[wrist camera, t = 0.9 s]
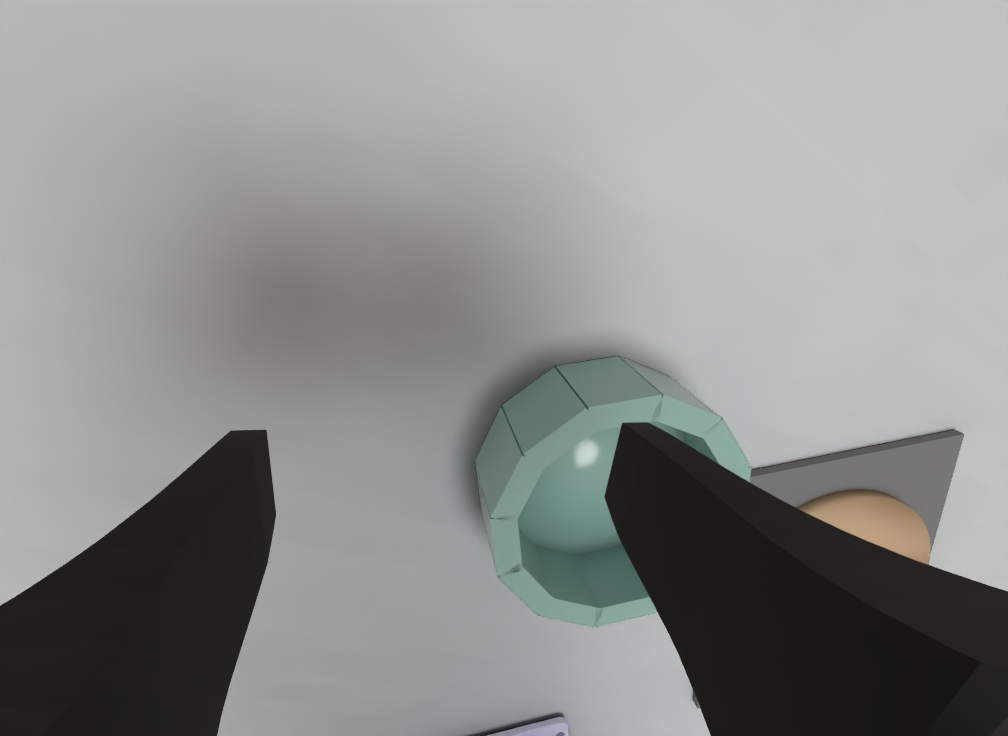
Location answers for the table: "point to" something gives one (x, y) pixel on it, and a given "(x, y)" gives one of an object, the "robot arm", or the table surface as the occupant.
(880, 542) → the lid
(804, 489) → the mat
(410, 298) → the table surface
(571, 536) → the bowl
